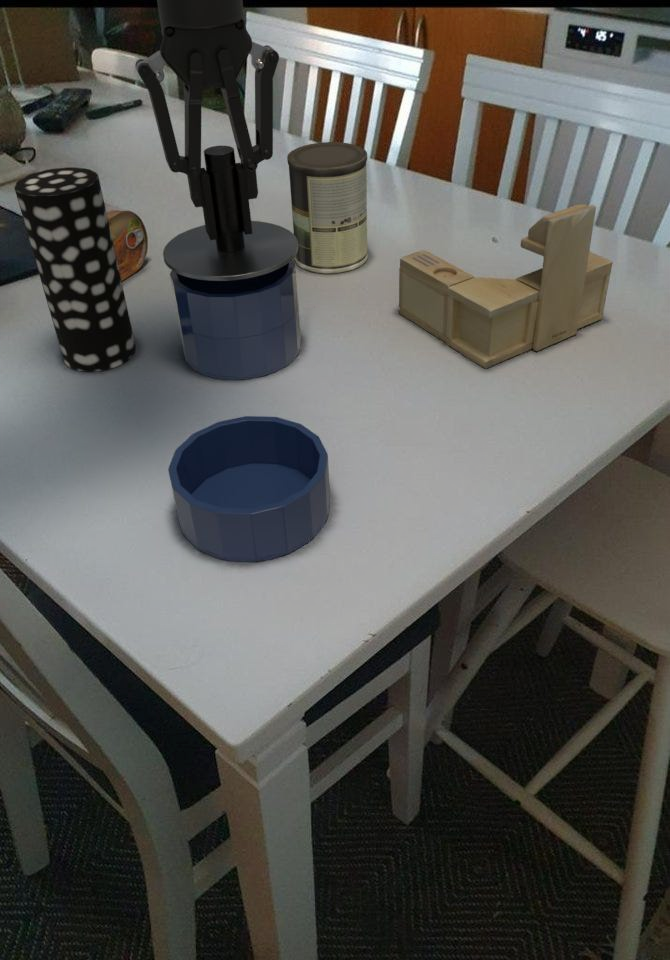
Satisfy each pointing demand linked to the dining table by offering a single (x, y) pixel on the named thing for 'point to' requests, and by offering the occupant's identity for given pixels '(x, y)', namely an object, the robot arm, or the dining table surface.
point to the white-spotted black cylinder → (77, 266)
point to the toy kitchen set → (511, 293)
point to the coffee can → (329, 206)
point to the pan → (251, 488)
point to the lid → (229, 234)
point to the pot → (239, 323)
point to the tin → (128, 241)
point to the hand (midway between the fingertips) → (228, 231)
